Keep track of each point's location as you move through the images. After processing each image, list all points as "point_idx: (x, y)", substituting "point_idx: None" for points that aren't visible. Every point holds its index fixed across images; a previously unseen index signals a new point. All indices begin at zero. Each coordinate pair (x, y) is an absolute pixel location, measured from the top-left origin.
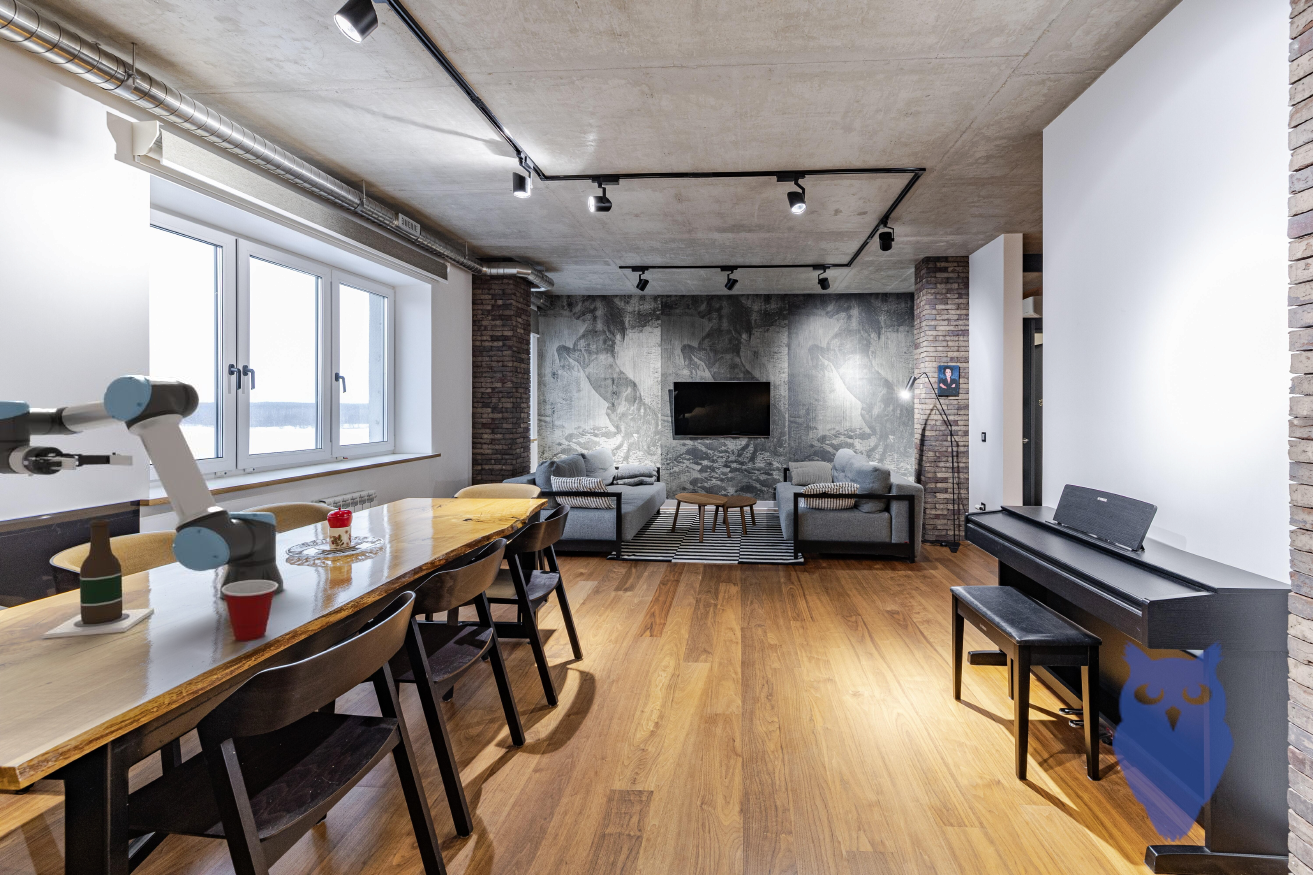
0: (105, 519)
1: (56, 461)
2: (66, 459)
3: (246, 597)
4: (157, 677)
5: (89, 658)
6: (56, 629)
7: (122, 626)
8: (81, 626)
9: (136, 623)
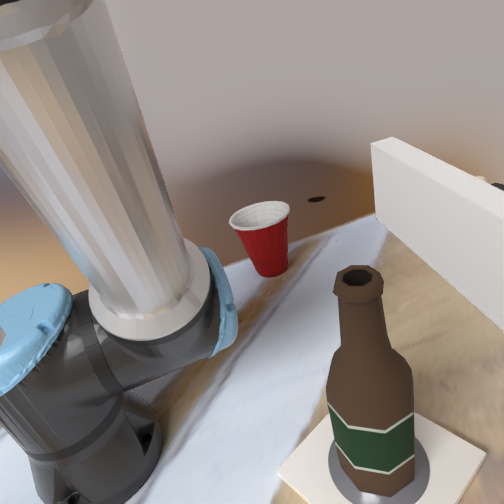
0: (341, 280)
1: (501, 184)
2: (426, 160)
3: (277, 207)
4: (380, 231)
5: (424, 308)
6: (462, 468)
7: None
8: (418, 442)
9: None
